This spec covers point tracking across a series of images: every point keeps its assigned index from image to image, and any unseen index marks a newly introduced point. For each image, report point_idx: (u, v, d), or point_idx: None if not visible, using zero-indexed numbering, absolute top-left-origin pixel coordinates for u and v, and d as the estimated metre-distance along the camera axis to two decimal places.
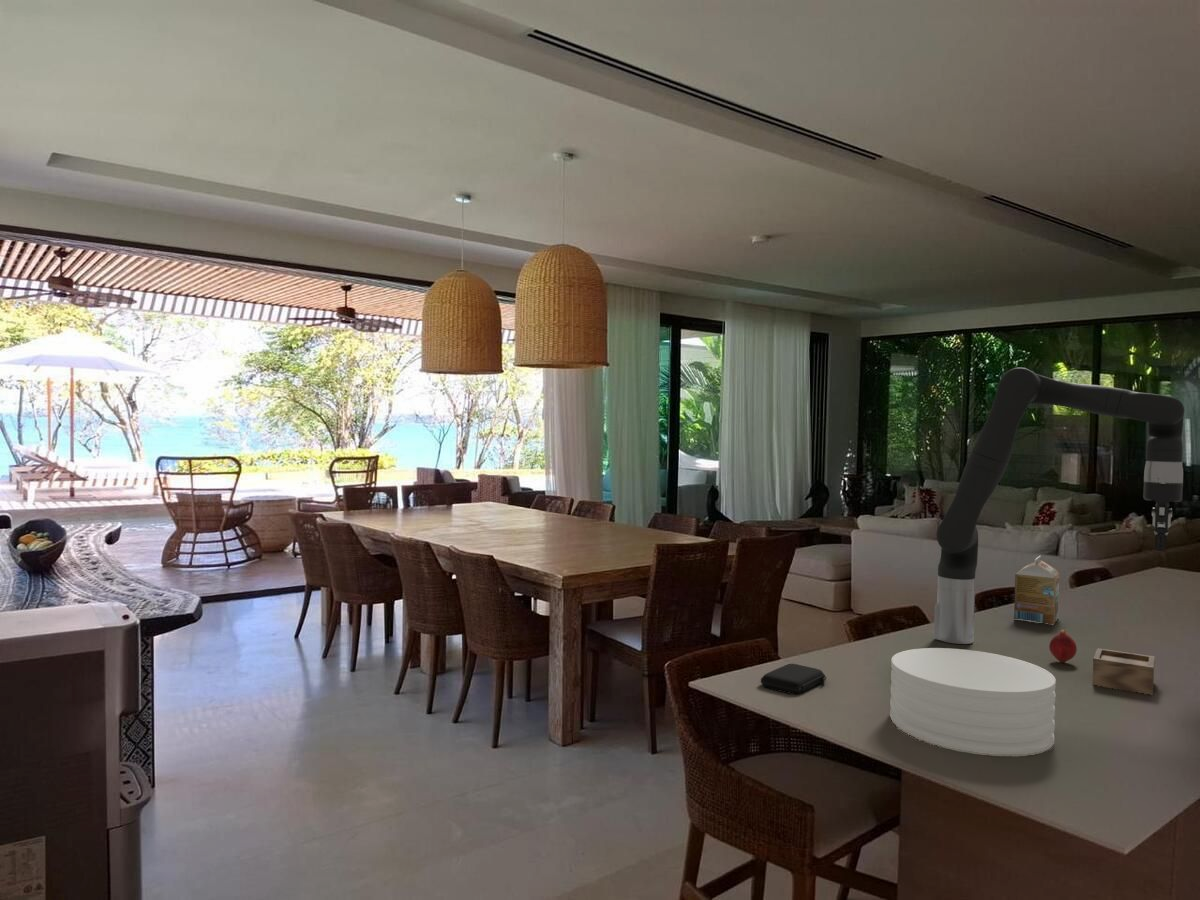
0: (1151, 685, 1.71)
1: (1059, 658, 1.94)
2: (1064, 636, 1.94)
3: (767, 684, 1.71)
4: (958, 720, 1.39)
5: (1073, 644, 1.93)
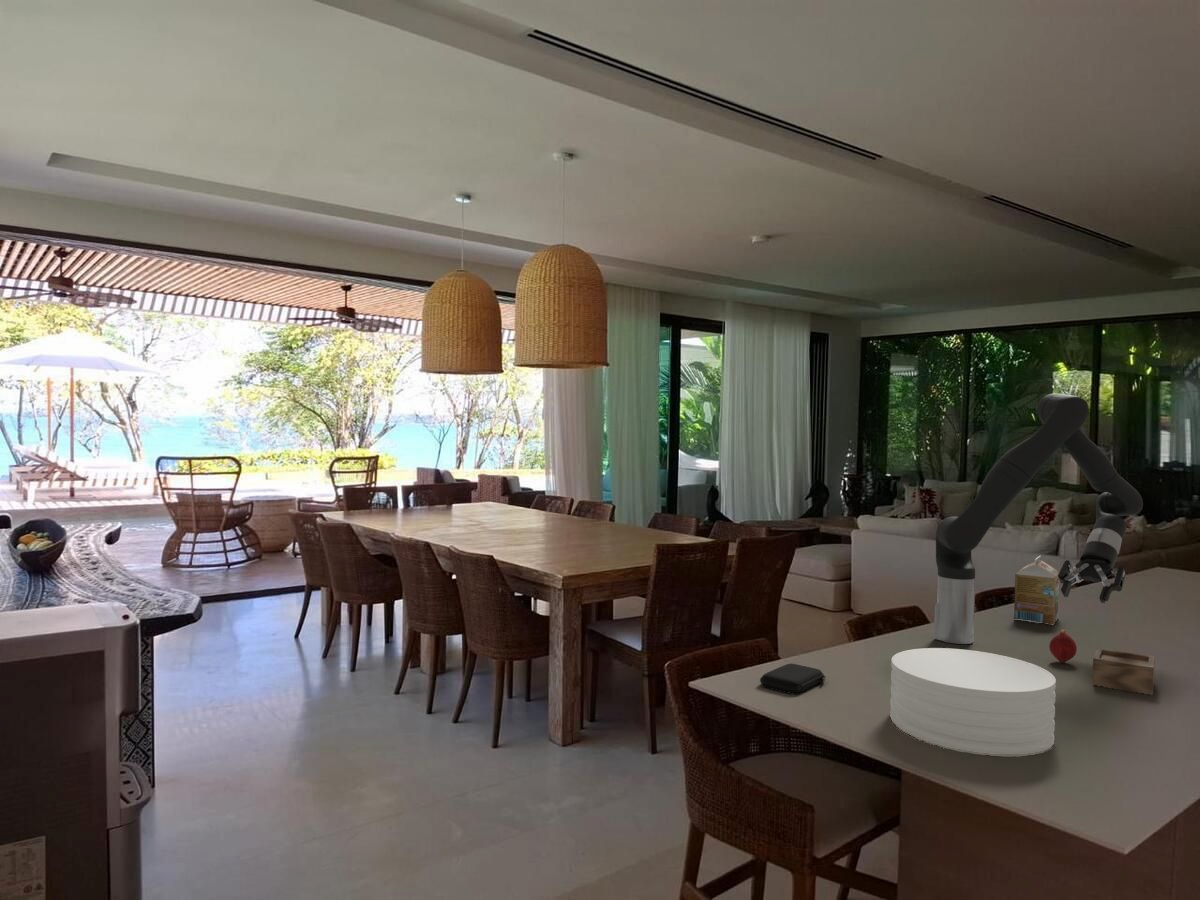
0: (1151, 685, 1.71)
1: (1059, 658, 1.94)
2: (1064, 636, 1.94)
3: (766, 684, 1.71)
4: (958, 720, 1.38)
5: (1073, 644, 1.93)
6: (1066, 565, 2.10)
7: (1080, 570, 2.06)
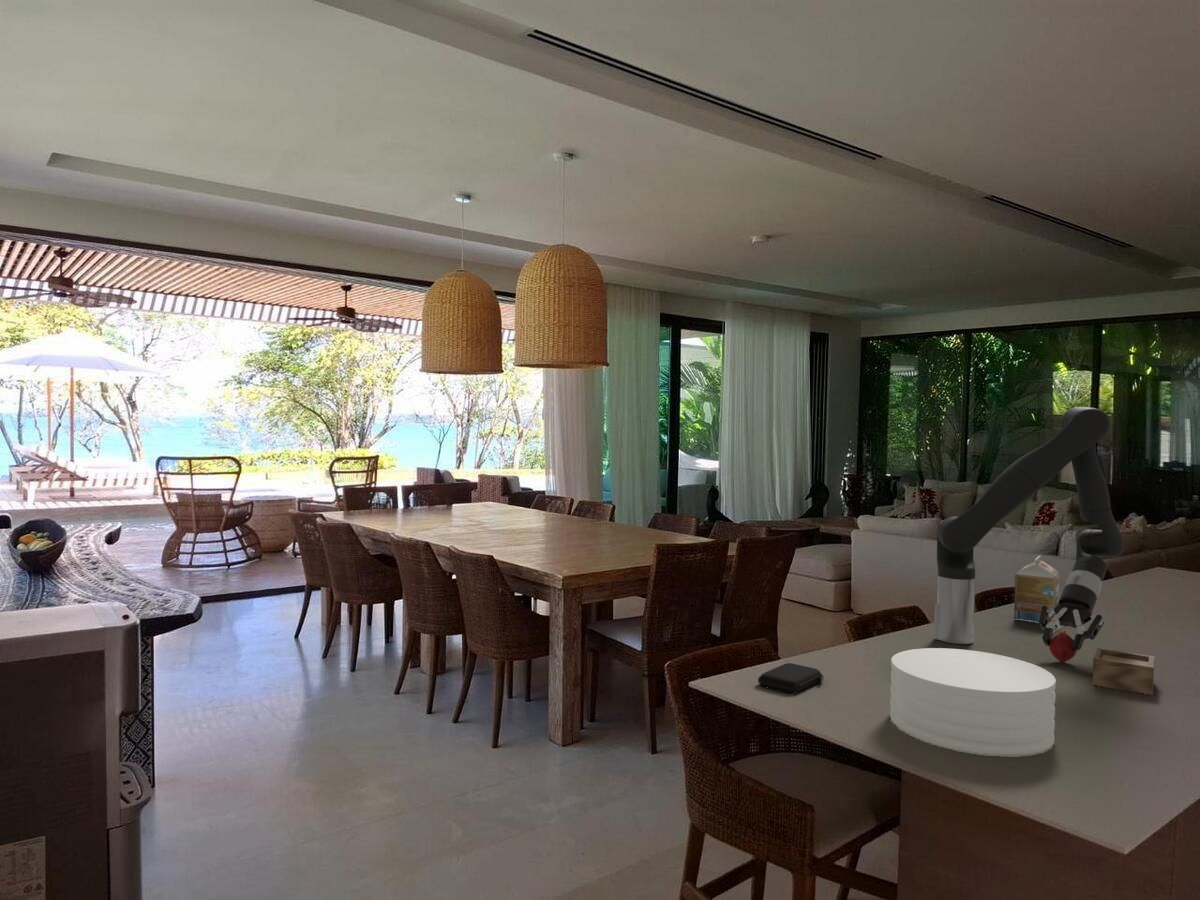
0: (1151, 685, 1.71)
1: (1059, 658, 1.94)
2: (1064, 636, 1.94)
3: (764, 683, 1.72)
4: (958, 720, 1.38)
5: None
6: (1044, 611, 2.02)
7: (1060, 615, 1.98)
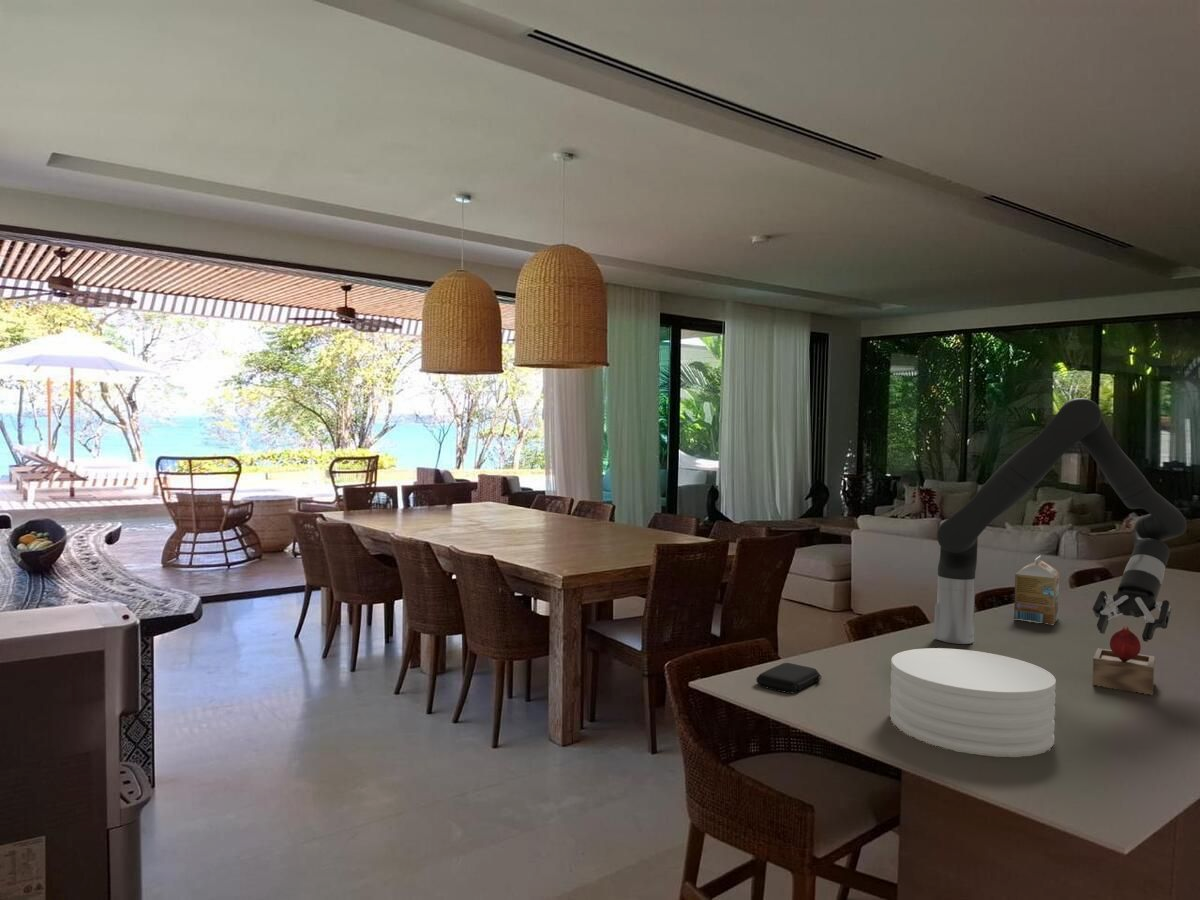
0: (1151, 685, 1.71)
1: (1121, 657, 1.78)
2: (1127, 633, 1.77)
3: (763, 683, 1.72)
4: (958, 720, 1.38)
5: (1137, 642, 1.76)
6: (1102, 597, 1.86)
7: (1118, 603, 1.82)
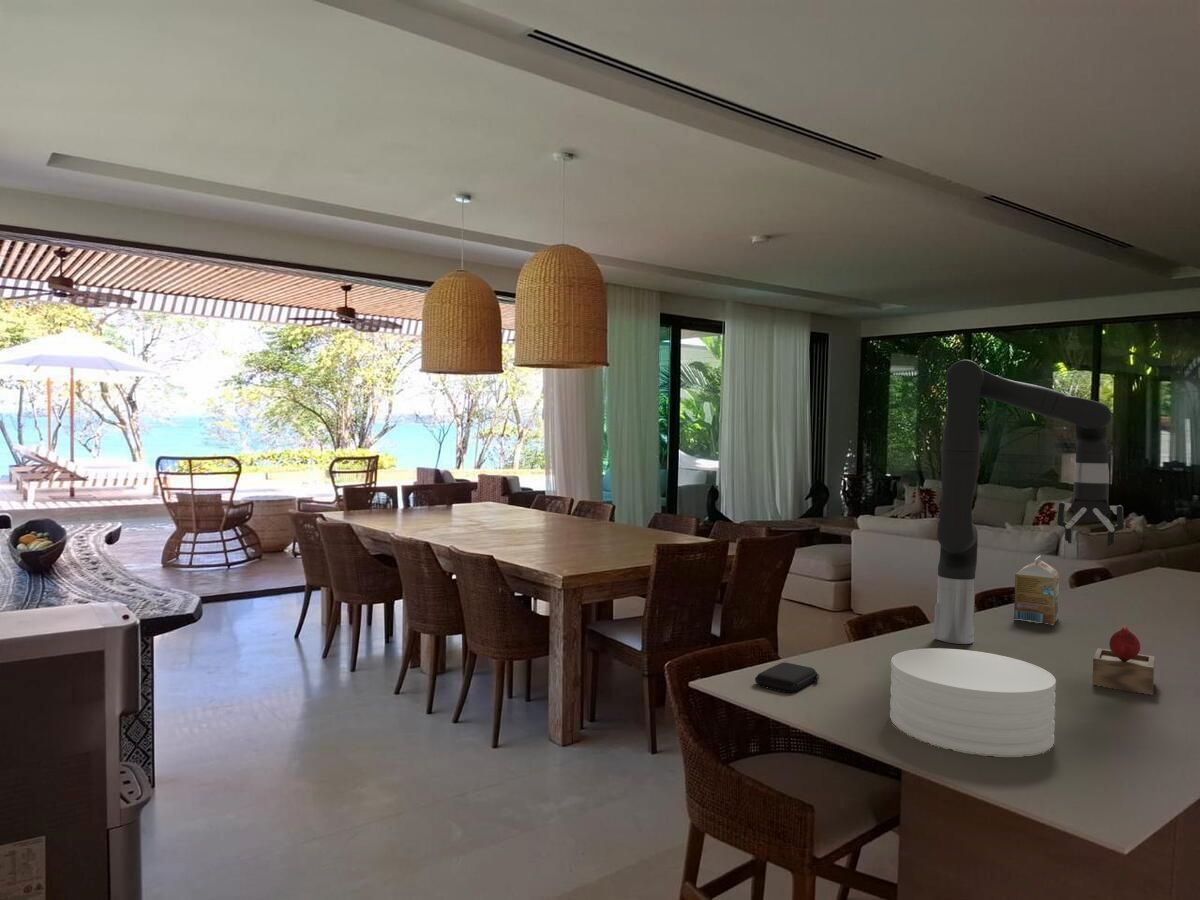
0: (1151, 685, 1.71)
1: (1121, 657, 1.78)
2: (1126, 633, 1.78)
3: (762, 683, 1.72)
4: (958, 720, 1.38)
5: (1137, 641, 1.77)
6: (1062, 509, 2.05)
7: (1079, 516, 2.02)
